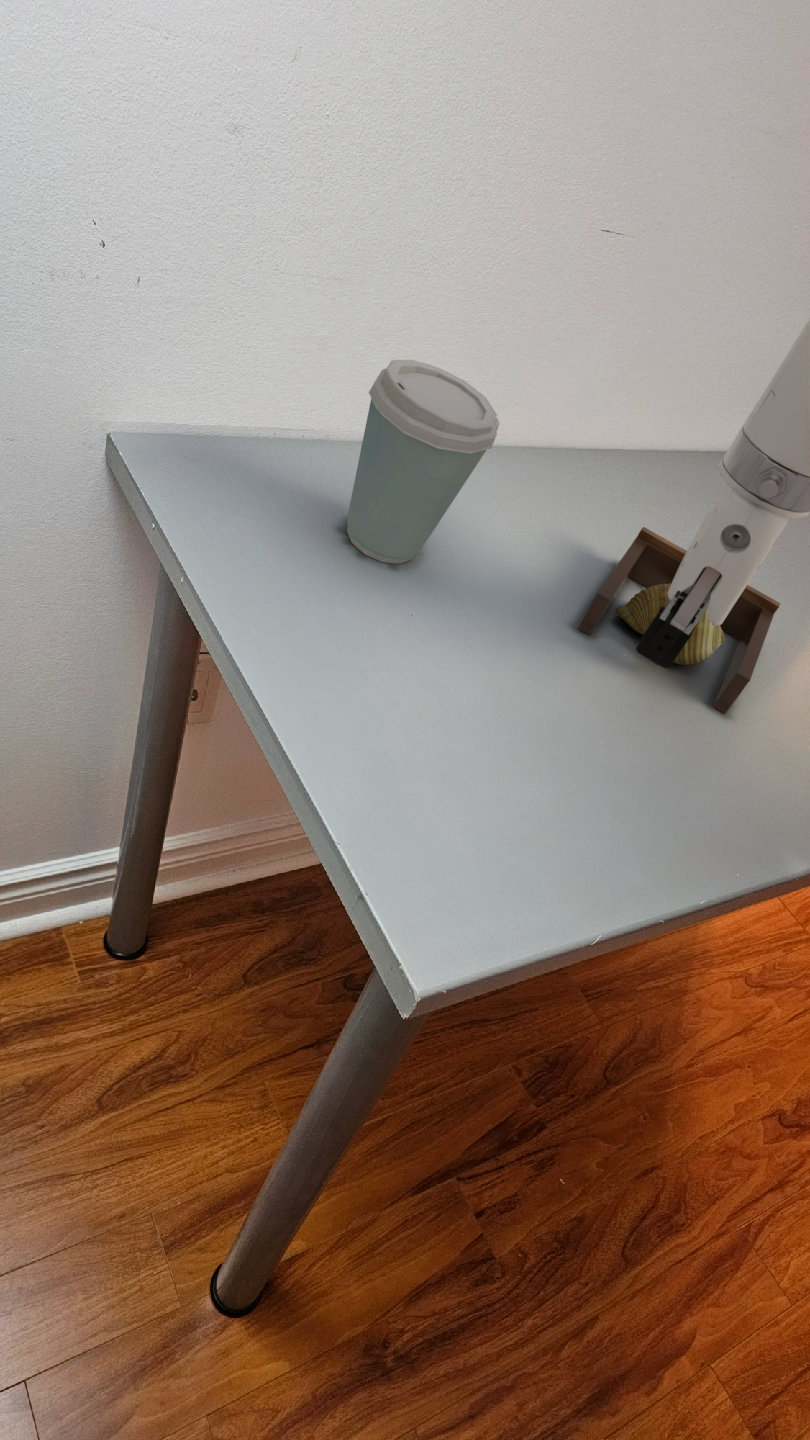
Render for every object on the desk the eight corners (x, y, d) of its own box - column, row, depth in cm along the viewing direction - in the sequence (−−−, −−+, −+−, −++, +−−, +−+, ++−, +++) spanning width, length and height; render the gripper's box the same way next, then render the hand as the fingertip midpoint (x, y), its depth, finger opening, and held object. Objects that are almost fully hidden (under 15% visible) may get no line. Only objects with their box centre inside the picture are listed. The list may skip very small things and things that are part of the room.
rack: (753, 641, 100) (781, 602, 97) (725, 714, 89) (755, 672, 86) (620, 566, 102) (643, 525, 99) (577, 628, 91) (602, 585, 88)
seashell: (600, 656, 97) (608, 626, 89) (624, 588, 99) (634, 553, 91) (704, 690, 95) (721, 663, 88) (727, 620, 97) (746, 587, 89)
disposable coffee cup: (401, 504, 96) (460, 353, 87) (464, 578, 91) (535, 426, 82) (301, 509, 90) (353, 347, 81) (363, 589, 85) (427, 425, 75)
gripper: (809, 534, 71) (673, 723, 83) (831, 464, 83) (709, 639, 94) (710, 480, 72) (590, 674, 84) (746, 418, 83) (635, 597, 95)
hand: (653, 655), depth 89 cm, fingers closed
